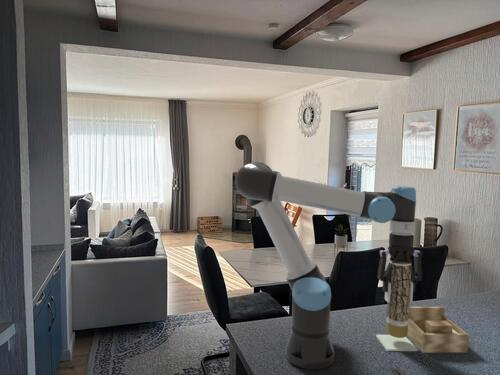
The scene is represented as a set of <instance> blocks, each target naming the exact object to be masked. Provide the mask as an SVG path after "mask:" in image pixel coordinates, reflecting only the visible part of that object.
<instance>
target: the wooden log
mask: <svg viewBox="0 0 500 375" xmlns="http://www.w3.org/2000/svg"><path fill="white" fill-rule="evenodd" d="M389 263H390V265H391V264H392V261H389V260H388V264H389ZM411 264H412V262H411V263H407V262H403V261H400V262H397V263H393V264H392V275H391V277H390V280H389V282H390V283H391V294H390V303H388V302H387V301H386V304H387V306H386V328H385V331H386V333H387V335H391V336H393V337H397V338H404V337H408V336H407V335H408V320H409V307H410V302H409V301H410V282H411Z"/></svg>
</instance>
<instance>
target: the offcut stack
mask: <svg viewBox="0 0 500 375" xmlns="http://www.w3.org/2000/svg"><path fill="white" fill-rule="evenodd" d="M452 328H453V326H452V325H451V324H450V323H448V322H447V321H426V324H425V329H426V332H425V333H457V332H456V331H454V330H453V329H452Z"/></svg>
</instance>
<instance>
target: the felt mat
mask: <svg viewBox="0 0 500 375" xmlns="http://www.w3.org/2000/svg"><path fill="white" fill-rule="evenodd" d="M375 337H376V338H377V340H378V341H379V342H380V344H381V345H382V346H383V347H384V349H385V350H386V351H387V352H418V349H419V348H418V347H417V346H416V345H415V344H414V343H412V341H411V339H410V338H409V337H408V336H406V337H404V338H397V337H393V336H391V335H389V334H375Z"/></svg>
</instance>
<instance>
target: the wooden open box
mask: <svg viewBox="0 0 500 375" xmlns="http://www.w3.org/2000/svg"><path fill="white" fill-rule="evenodd" d="M445 310H446V309H445V306H409V320H408V335H407V336H406V337H407V338H408V339H409V340H410V341H411V342H413V344H414V345H415V346H416V347H417V349H419V350H420V351H421V352H422V353H424V354H425V353H431V354H432V353H468V349H469V348H468V347H469V336H470V335H469V334H468V333H467V332H466V331H465V330H463V329H462V328H461V327H459V325H457V324H456V323H454V322H453V321H451V320H450V319H449V318H448V317H446V316H445V313H446V312H445ZM426 321H447V322H448V323H450V324H451V325H452V326H453V328H452V329H453V330H454V331H456V332H457V333H426V329H425V324H426Z"/></svg>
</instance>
